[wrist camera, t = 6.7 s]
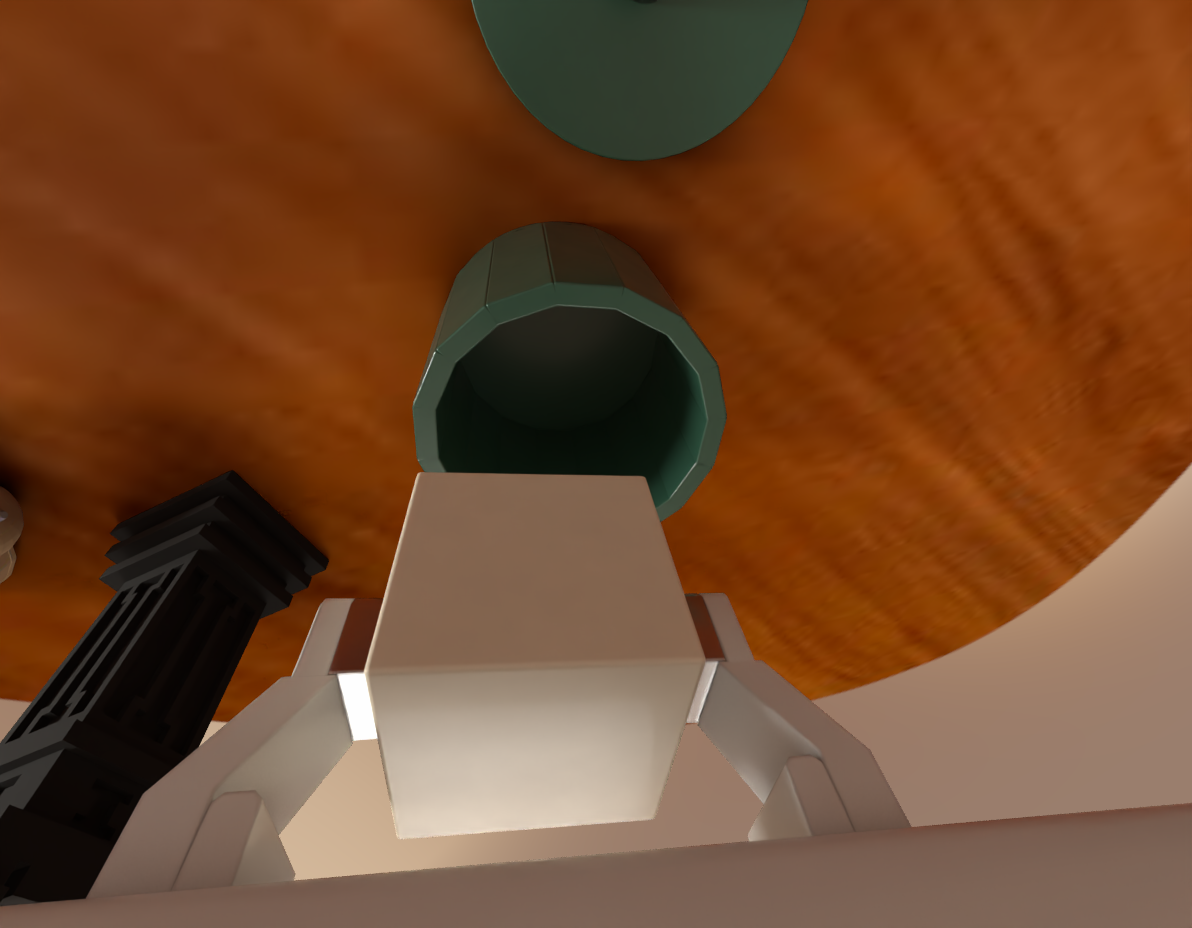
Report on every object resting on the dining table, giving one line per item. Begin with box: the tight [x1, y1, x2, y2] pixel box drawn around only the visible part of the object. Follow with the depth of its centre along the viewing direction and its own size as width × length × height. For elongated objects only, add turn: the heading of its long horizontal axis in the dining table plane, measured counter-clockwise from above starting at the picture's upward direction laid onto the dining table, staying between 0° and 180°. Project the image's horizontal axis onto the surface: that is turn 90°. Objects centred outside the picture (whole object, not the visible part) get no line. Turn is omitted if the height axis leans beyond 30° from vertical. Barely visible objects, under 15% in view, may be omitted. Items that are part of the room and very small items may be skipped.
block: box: [364, 472, 706, 839], centre depth 10 cm, size 4×4×4 cm
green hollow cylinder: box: [413, 222, 727, 522], centre depth 25 cm, size 12×12×10 cm
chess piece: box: [0, 470, 329, 906], centre depth 25 cm, size 8×8×20 cm
